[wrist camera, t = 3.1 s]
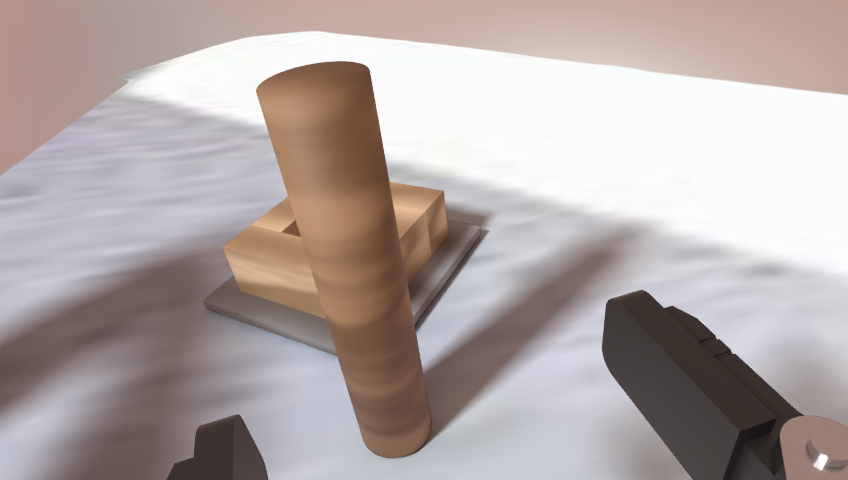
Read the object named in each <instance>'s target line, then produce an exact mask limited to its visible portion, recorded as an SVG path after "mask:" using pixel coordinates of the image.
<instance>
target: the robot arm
mask: <svg viewBox="0 0 848 480" xmlns="http://www.w3.org/2000/svg"><path fill="white" fill-rule="evenodd" d="M602 352H603V357H604V360H605V363H606V365H607V367H608V369H609V371H610V373H611V374H612V376H613V377H614V378H615V379H616V381H617V382H618V383H619V385H620V386H621V387H622V389H623V390H624V391H625V392H626V394H627V395H628V396H629V398H630V399H631V400H632V401H633V403H634V404H635V405H636V407H637V408H638V409H639V411H640V412H641V413H642V414H643V416H644V417H645V418H646V420H647V421H648V422H649V423H650V425H651V426H652V427H653V429H654V430H655V431H656V432H657V434H658V435H659V436H660V438H661V439H662V440H663V442H664V443H665V444H666V445H667V447H668V448H669V449H670V451H671V452H672V453H673V454H674V456H675V457H676V458H677V460H678V461H679V462H680V464H681V465H682V466H683V467H684V469H685V470H686V471H687V473H688V474H689V475H690V476H691V478H692V479H693V480H848V427H846V426H844V425H842V424H840V423H838V422H835V421H833V420H830V419H826V418H823V417H817V416H804V415H802V414H801V413H800V412H798V411H797V410H796V409H795V408H793V407H792V406H791V405H790V404H789V403H788V402H787V401H786V400H785V399H784V398H782V397H781V396H780V395H779V394H778V393H777V392H776V391H775V390H774V389H773V388H772V387H771V386H769V385H768V384H767V383H766V382H765V381H764V380H763V379H762V378H761V377H760V376H759V375H758V374H757V373H755V372H754V371H753V370H752V369H751V368H750V367H749V366H748V365H747V364H746V363H745V362H744V361H742V360H741V359H740V358H739V357H738V356H737V355H736V354H732V352H731V349H729V348H728V347H727V346H726V345H725V344H724V343H723V342H722V341H721V340H720V339H718V340H717V339H716V336H715V335H714V334H713V333H712V332H711V331H710V330H709V329H708V328H707V327H706V326H705V325H704V324H702V323H701V322H700V321H699V320H698V319H697V318H695V317H693V316H691V315H689V314H687V313H685V312H683V311H681V310H679V309H678V308H676V307H674V306H670V307H667V308H663V307H662V306H661V305H660V304H659V303H658V302H657V301H656V300H655V299H654V298H653V297H652V296H651V295H650V294H649V293H647V292H646V291H643V290H639V291H635V292H632V293H629V294H625V295H622V296H619V297H616V298H612V299H610V300H608V302H607V304H606V311H605V321H604V332H603V342H602ZM167 480H268V475H267V471H266V467H265V463H264V461H263V458H262V456H261V454H260V452H259V450H258V448H257V446H256V444H255V442H254V440H253V438H252V437H251V435H250V433H249V431H248V429H247V427H246V425H245V423H244V421H243V419H242V417H241V416H240V415H238V414H237V415H234V416H231V417H227V418H224V419H221V420H217V421H214V422H211V423H208V424H204V425H201V426H199V427H198V429H197V431H196V437H195V448H194V458H191V459H188V460H184V461H181V462H178V463H175V464H174V466H173V468H172V470H171V472H170V474H169V476H168V478H167Z"/></svg>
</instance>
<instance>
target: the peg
mask: <svg viewBox="0 0 848 480" xmlns="http://www.w3.org/2000/svg"><path fill="white" fill-rule="evenodd" d="M256 92H257V96H258V99H259V102H260V105H261V109H262V112H263V115H264V118H265V122H266V125H267V128H268V131H269V135H270V138H271V141H272V145H273V148H274V151H275V154H276V158H277V161H278V164H279V167H280V171H281V174H282V177H283V180H284V184H285V187H286V190H287V193H288V197H289V200H290V203H291V206H292V210H293V213H294V216H295V219H296V223H297V226H298V229H299V232H300V236H301V239H302V242H303V245H304V249H305V252H306V255H307V258H308V262H309V265H310V268H311V271H312V275H313V278H314V281H315V284H316V288H317V291H318V294H319V297H320V301H321V304H322V307H323V310H324V314H325V317H326V320H327V323H328V327H329V330H330V333H331V336H332V340H333V343H334V346H335V349H336V353H337V356H338V359H339V362H340V366H341V369H342V372H343V376H344V379H345V382H346V385H347V389H348V392H349V395H350V398H351V402H352V405H353V408H354V411H355V415H356V418H357V421H358V424H359V428H360V431H361V434H362V437H363V441H364V443H365V445H366V446H367V447H368V449H369V450H370V451H372V452H373V453H375V454H376V455H379V456H381V457H385V458H400V457H404V456H407V455H409V454H411V453H413V452H415V451H416V450H418V449H419V448H420V447H421V446H422V445H423V444H424V443H425V441H426V440H427V438H428V436H429V434H430V431H431V416H430V410H429V405H428V399H427V393H426V388H425V382H424V376H423V370H422V365H421V359H420V353H419V348H418V342H417V336H416V331H415V325H414V319H413V314H412V308H411V302H410V297H409V291H408V285H407V280H406V274H405V268H404V263H403V257H402V251H401V246H400V240H399V234H398V229H397V223H396V217H395V211H394V206H393V200H392V194H391V189H390V183H389V177H388V172H387V166H386V160H385V155H384V149H383V143H382V138H381V132H380V126H379V121H378V115H377V109H376V104H375V98H374V92H373V87H372V81H371V75H370V70H369V68H368V67H367V66H365V65H363V64H360V63H355V62H346V61H336V62H323V63H316V64H310V65H305V66H300V67H297V68H293V69H290V70H286V71H284V72H281V73H278V74H276V75H274V76H272V77H270V78H268V79H266V80H265V81H263V82H262V83H261V84H260V85H259V86H258V87H257V89H256Z"/></svg>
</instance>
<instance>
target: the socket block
mask: <svg viewBox="0 0 848 480" xmlns="http://www.w3.org/2000/svg"><path fill="white" fill-rule="evenodd" d="M389 183H390V189H391V194H392V200H393V206H394V211H395V217H396V223H397V229H398V234H399V240H400V246H401V251H402V257H403V263H404V268H405V274H406V280H407V285H408V291H409V297H410V302H411V308H412V314H413V319H414V325H415V324H416V322H417V321H418V320H419V318H420V317H421V315H422V314H423V313H424V311H425V310H426V309H427V307H428V306H429V305H430V303H431V302H432V300H433V299H434V298H435V296H436V295H437V294H438V292H439V291H440V289H441V288H442V287H443V285H444V284H445V283H446V281H447V280H448V279H449V277H450V276H451V274H452V273H453V272H454V270H455V269H456V268H457V266H458V265H459V264H460V262H461V261H462V259H463V258H464V257H465V255H466V254H467V253H468V251H469V250H470V248H471V247H472V246H473V244H474V243H475V242H476V240H477V239H478V238H479V236H480V235H481V227H480V226H476V225H471V224H466V223H461V222H456V221H450V220H447V217H446V208H445V199H444V191H441V190H435V189H429V188H423V187H417V186H411V185H405V184H399V183H393V182H389ZM222 248H223V250H224V252H225V255H226V257H227V260H228V262H229V264H230V267H231V269H232V272H233V274H234V276H232V277H231V278H230V279H229V280H228V281H226V282H225V283H224V284H223V285H222V286H220V287H219V288H218V289H217V290H216V291H214V292H213V293H212V294H211V295H210V296H208V297H207V298H206V299H205V300H203V302H204V304H205V306H206V308H207V309H209V310H212V311H215V312H217V313H220V314H223V315H226V316H228V317H231V318H234V319H237V320H239V321H242V322H245V323H248V324H250V325H253V326H256V327H259V328H261V329H264V330H267V331H270V332H272V333H275V334H278V335H281V336H283V337H286V338H289V339H292V340H295V341H297V342H300V343H303V344H306V345H308V346H311V347H314V348H317V349H319V350H322V351H325V352H328V353H330V354H333V355H336V356H337V353H336V349H335V346H334V343H333V340H332V336H331V333H330V330H329V327H328V323H327V320H326V317H325V314H324V310H323V307H322V304H321V301H320V297H319V294H318V291H317V288H316V284H315V281H314V278H313V275H312V271H311V268H310V265H309V262H308V258H307V255H306V252H305V249H304V245H303V242H302V239H301V236H300V232H299V229H298V226H297V223H296V219H295V216H294V213H293V210H292V206H291V203H290V200H289V197H287V198H286V199H285V200H283V201H282V202H281V203H279V204H278V205H277V206H275V207H274V208H273V209H271V210H270V211H269V212H267V213H266V214H265V215H264V216H262V217H261V218H260V219H258V220H257V221H256V222H254V223H253V224H252V225H250V226H249V227H248V228H247V229H245V230H244V231H243V232H241V233H240V234H239V235H237V236H236V237H235V238H233V239H232V240H231V241H229V242H228V243H227V244H226V245H224V246H223V247H222Z"/></svg>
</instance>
